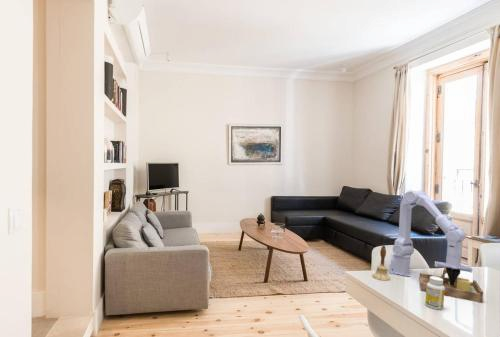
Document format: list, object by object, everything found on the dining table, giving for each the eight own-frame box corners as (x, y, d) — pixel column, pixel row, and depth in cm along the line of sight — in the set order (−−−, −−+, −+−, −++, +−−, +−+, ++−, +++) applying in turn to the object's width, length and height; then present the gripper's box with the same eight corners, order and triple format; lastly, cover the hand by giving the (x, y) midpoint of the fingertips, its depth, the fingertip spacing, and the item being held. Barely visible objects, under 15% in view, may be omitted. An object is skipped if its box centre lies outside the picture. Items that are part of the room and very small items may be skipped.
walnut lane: (420, 290, 148) (421, 280, 148) (419, 279, 163) (419, 270, 162) (482, 302, 138) (483, 292, 138) (474, 290, 153) (475, 280, 153)
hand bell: (393, 281, 158) (395, 248, 158) (375, 280, 158) (378, 247, 158) (386, 275, 166) (388, 244, 166) (370, 274, 167) (372, 243, 166)
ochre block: (456, 289, 147) (457, 280, 147) (454, 285, 152) (455, 277, 151) (469, 291, 145) (470, 282, 145) (467, 288, 150) (468, 279, 149)
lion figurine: (449, 275, 173) (450, 258, 172) (460, 278, 169) (462, 261, 168) (438, 281, 163) (440, 263, 163) (450, 284, 159) (452, 266, 159)
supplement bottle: (431, 309, 128) (433, 280, 128) (421, 302, 135) (423, 275, 134) (447, 309, 129) (449, 281, 129) (436, 302, 135) (438, 275, 135)
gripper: (436, 254, 149) (434, 284, 149) (474, 260, 143) (472, 291, 143) (435, 251, 155) (433, 279, 156) (471, 256, 149) (469, 286, 150)
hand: (451, 284), depth 150 cm, fingers closed
